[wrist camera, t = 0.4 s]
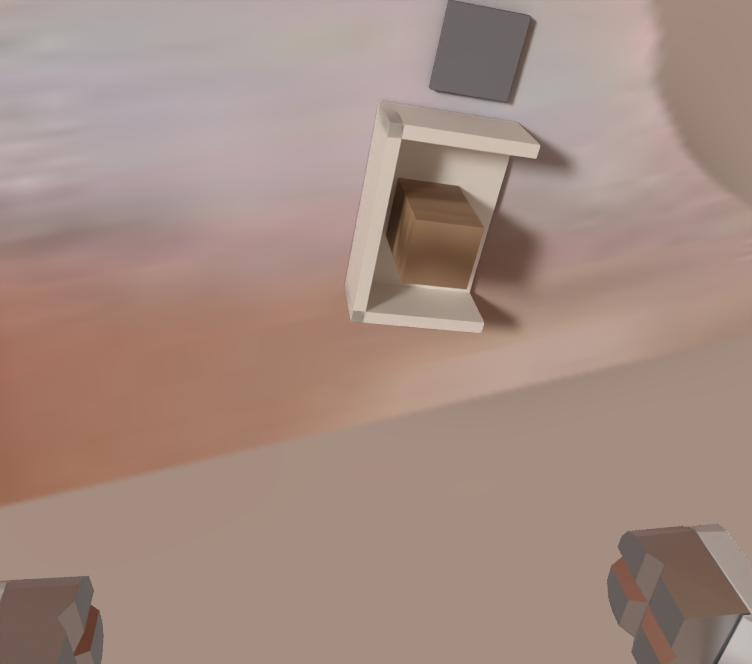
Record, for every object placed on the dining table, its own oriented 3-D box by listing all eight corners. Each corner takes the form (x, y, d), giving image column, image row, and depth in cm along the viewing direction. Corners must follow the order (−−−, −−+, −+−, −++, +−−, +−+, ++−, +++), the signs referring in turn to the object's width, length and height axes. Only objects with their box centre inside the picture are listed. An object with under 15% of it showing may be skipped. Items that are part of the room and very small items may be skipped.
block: (398, 177, 54) (416, 219, 48) (458, 185, 55) (484, 228, 49) (385, 235, 57) (401, 282, 50) (443, 242, 58) (466, 289, 51)
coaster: (448, -1, 48) (450, 0, 47) (528, 15, 49) (531, 16, 49) (429, 87, 51) (430, 89, 51) (504, 99, 52) (507, 101, 52)
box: (379, 100, 51) (390, 122, 47) (517, 122, 53) (540, 145, 49) (344, 287, 60) (351, 321, 55) (465, 299, 62) (481, 332, 57)
